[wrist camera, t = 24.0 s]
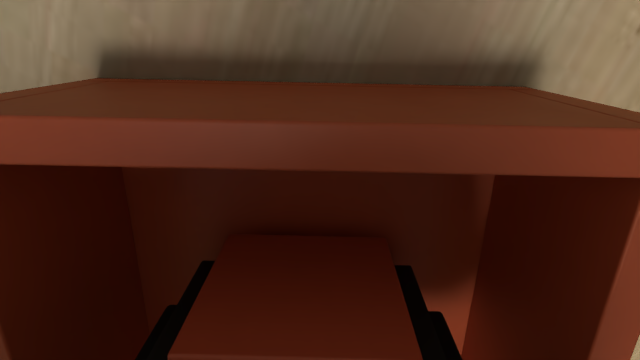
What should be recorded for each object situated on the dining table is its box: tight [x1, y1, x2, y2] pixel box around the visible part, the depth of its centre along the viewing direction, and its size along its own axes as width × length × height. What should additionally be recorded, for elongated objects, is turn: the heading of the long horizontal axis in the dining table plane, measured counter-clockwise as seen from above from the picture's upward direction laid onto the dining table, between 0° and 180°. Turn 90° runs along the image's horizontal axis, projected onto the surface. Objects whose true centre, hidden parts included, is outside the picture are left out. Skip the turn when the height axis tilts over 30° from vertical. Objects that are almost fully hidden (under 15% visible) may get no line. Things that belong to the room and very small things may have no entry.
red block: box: [168, 234, 423, 360], centre depth 9 cm, size 4×4×4 cm
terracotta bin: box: [0, 78, 640, 360], centre depth 11 cm, size 13×13×6 cm
